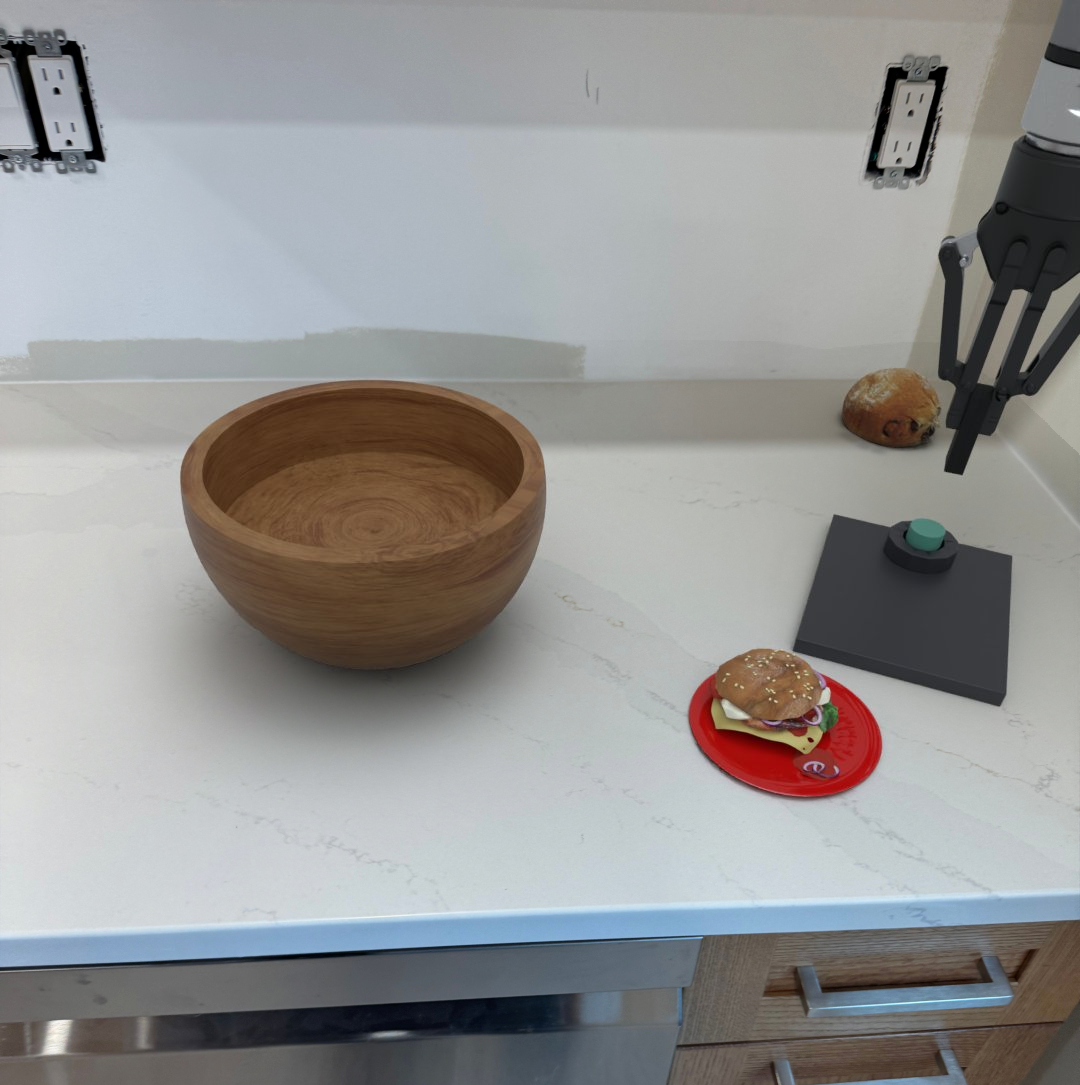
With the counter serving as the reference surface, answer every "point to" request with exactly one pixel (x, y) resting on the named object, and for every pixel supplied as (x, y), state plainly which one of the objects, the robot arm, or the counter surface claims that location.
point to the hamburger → (784, 725)
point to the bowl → (366, 517)
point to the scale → (911, 610)
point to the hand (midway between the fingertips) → (954, 465)
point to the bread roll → (892, 408)
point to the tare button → (925, 534)
